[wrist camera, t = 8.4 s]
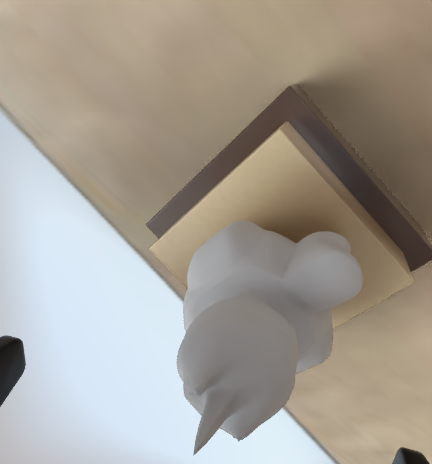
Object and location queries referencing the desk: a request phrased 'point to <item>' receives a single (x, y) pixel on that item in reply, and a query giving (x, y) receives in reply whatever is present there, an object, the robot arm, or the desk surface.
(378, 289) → the memo paper holder
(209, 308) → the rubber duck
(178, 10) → the desk surface
